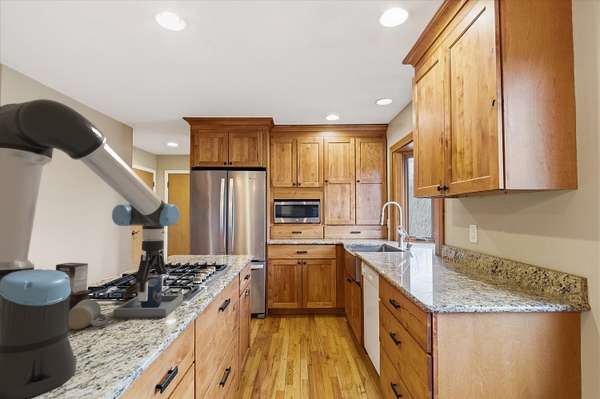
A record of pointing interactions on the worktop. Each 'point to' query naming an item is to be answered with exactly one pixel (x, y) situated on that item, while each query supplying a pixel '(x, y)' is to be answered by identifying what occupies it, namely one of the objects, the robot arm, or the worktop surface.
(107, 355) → the worktop surface
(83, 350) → the worktop surface
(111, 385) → the worktop surface
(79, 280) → the coffee box
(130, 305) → the tray
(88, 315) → the ceramic mug
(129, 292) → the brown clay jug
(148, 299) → the soda can
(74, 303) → the mate gourd
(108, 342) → the worktop surface
